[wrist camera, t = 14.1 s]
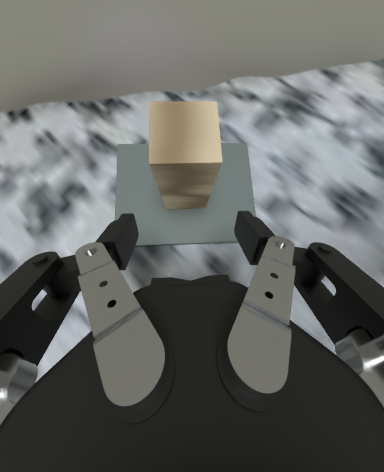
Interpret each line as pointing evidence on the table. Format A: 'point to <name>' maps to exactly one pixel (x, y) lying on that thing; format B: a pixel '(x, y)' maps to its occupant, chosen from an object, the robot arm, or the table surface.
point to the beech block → (184, 151)
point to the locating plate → (183, 220)
